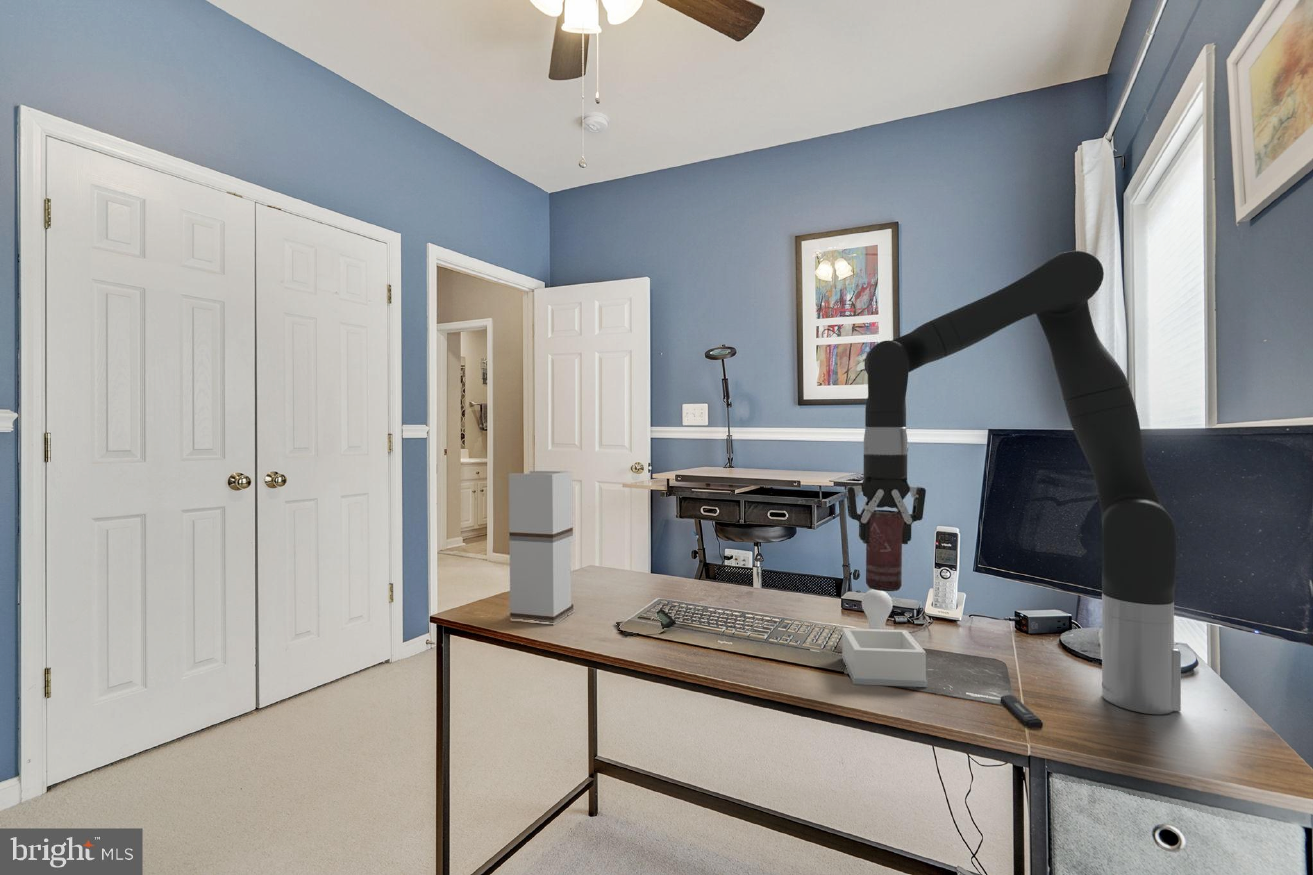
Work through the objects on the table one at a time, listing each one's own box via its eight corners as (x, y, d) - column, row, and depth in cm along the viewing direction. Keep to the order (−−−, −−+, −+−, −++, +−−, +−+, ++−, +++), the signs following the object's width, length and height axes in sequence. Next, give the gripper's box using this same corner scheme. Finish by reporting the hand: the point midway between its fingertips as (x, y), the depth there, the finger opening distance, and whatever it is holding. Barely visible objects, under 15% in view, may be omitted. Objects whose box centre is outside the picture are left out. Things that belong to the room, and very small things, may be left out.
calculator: (615, 625, 143) (615, 612, 143) (663, 620, 147) (663, 608, 147) (626, 638, 134) (625, 624, 134) (676, 633, 138) (676, 619, 138)
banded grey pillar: (573, 612, 153) (572, 471, 153) (553, 625, 143) (552, 474, 143) (532, 608, 156) (531, 470, 156) (510, 621, 146) (508, 473, 146)
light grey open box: (907, 660, 120) (907, 629, 119) (927, 687, 107) (927, 652, 107) (841, 658, 121) (841, 627, 121) (853, 684, 109) (853, 650, 109)
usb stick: (998, 702, 102) (998, 693, 102) (1015, 703, 102) (1015, 693, 102) (1026, 730, 93) (1026, 719, 93) (1045, 730, 92) (1044, 720, 92)
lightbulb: (863, 645, 128) (862, 592, 128) (860, 635, 134) (860, 585, 134) (894, 647, 127) (894, 593, 127) (890, 637, 133) (890, 586, 133)
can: (906, 592, 110) (906, 514, 109) (868, 590, 111) (869, 512, 111) (899, 584, 116) (900, 509, 115) (864, 582, 117) (864, 508, 117)
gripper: (920, 451, 116) (919, 540, 116) (841, 451, 117) (840, 538, 118) (933, 453, 108) (932, 548, 109) (848, 452, 110) (848, 546, 110)
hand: (884, 542), depth 113 cm, fingers closed on can, 6 cm apart
